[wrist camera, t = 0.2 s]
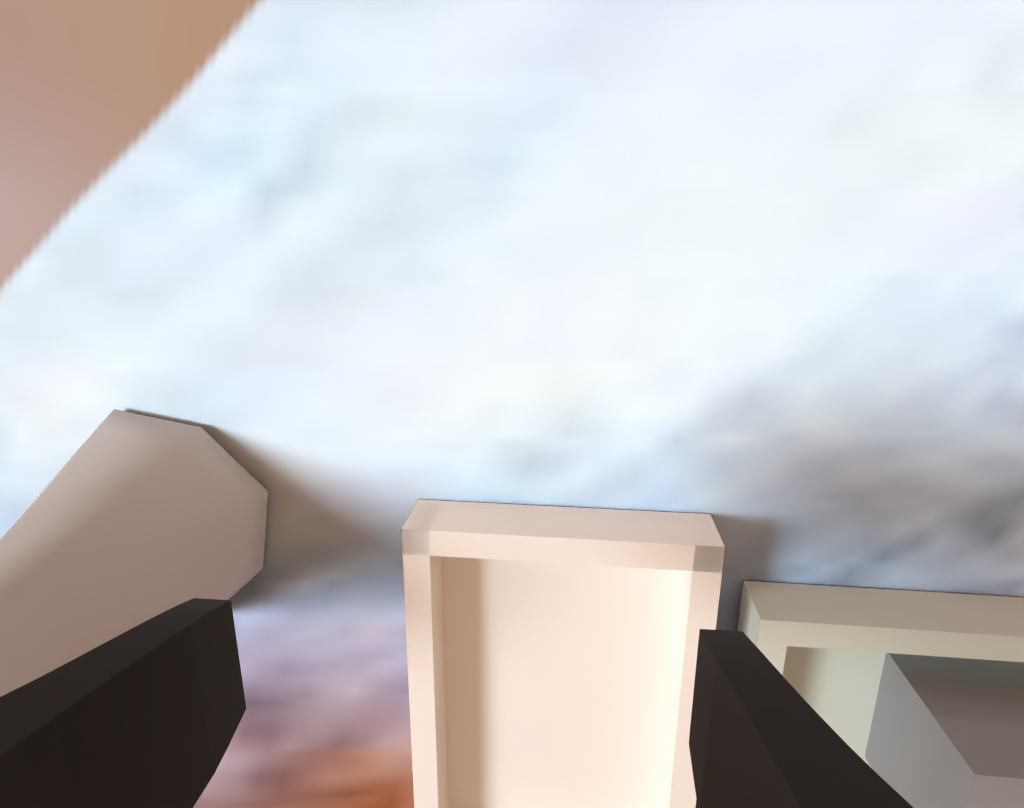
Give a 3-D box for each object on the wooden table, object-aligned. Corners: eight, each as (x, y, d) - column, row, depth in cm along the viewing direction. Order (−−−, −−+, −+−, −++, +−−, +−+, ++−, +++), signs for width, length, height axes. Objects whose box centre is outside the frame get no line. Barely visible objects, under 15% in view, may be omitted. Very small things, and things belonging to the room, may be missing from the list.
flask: (307, 478, 20) (64, 712, 11) (230, 641, 22) (-31, 956, 13) (103, 369, 20) (-337, 508, 10) (44, 545, 22) (-366, 795, 12)
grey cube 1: (997, 766, 20) (1111, 917, 16) (864, 755, 20) (941, 899, 16) (1027, 659, 19) (1159, 790, 15) (886, 650, 19) (975, 774, 15)
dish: (675, 842, 23) (684, 899, 21) (430, 818, 24) (417, 870, 22) (710, 513, 19) (725, 546, 17) (418, 499, 20) (401, 529, 18)
